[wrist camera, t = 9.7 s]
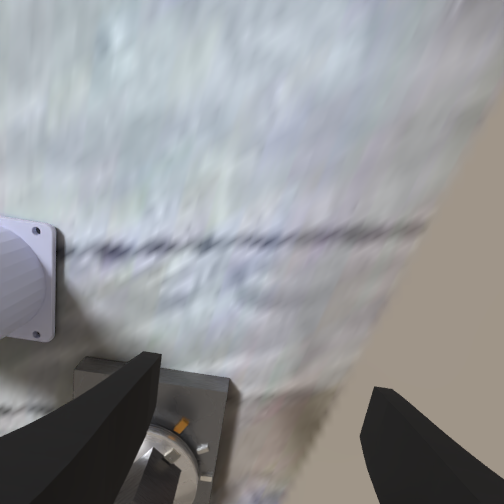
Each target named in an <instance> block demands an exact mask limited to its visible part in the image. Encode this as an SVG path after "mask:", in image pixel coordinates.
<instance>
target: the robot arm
mask: <svg viewBox="0 0 504 504" xmlns="http://www.w3.org/2000/svg"><path fill="white" fill-rule="evenodd" d="M37 227H38V228H39V229H40V231H41V232H40V234H39V233H37V231H36V228H37ZM55 286H56V229H55V228H54V226H52V225H51V224H48V223H42V222H35V221H29V220H23V219H17V218H10V217H4V216H0V340H1V339H2V338H4V337H5V336H6V337H12V338H19V339H26V340H32V341H39V342H49V341H51V340H52V339H53V338H54V336H55ZM36 331H37V332H39V333H40V335H38V334H37V332H36ZM161 355H162V354H157V353H151V352H144V351H143V352H142V353H140V354H139V355H138V356H136V357H135V358H133V359H132V360H131V361H129V362H128V363H127V364H125V365H124V366H122V367H121V368H120V369H118V370H117V371H116V372H114V373H113V374H111V375H110V376H109V377H107V378H106V379H104V380H103V381H101V382H100V383H99V384H97V385H96V386H94V387H93V388H91V389H90V390H88V391H86V392H85V393H83V394H82V395H80V396H78V397H77V398H75V399H74V400H72V401H71V402H69V403H67V404H65V405H64V406H62V407H60V408H58V409H57V410H55V411H53V412H51V413H49V414H47V415H46V416H44V417H42V418H40V419H38V420H36V421H34V422H32V423H30V424H28V425H26V426H24V427H22V428H19V429H17V430H15V431H13V432H11V433H8V434H6V435H4V436H2V437H0V504H114V502H115V500H116V498H117V496H118V494H119V492H120V489H121V487H122V485H123V483H124V481H125V479H126V477H127V475H128V473H129V471H130V469H131V467H132V464H133V462H134V460H135V458H136V456H137V454H138V452H139V450H140V448H141V446H142V443H143V441H144V439H145V437H146V434H147V431H148V429H149V426H150V423H151V420H152V417H153V414H154V411H155V408H156V403H157V394H158V384H159V375H160V365H161ZM360 440H361V445H362V450H363V454H364V458H365V462H366V466H367V469H368V472H369V475H370V478H371V481H372V483H373V486H374V489H375V492H376V494H377V497H378V500H379V502H380V504H504V479H503V478H501V477H500V476H498V475H497V474H496V473H495V472H493V471H492V470H490V469H489V468H488V467H487V466H485V465H484V464H483V463H481V462H480V461H479V460H478V459H476V458H475V457H474V456H472V455H471V454H470V453H469V452H467V451H466V450H465V449H464V448H462V447H461V446H460V445H459V444H457V443H456V442H455V441H454V440H452V439H451V438H450V437H449V436H448V435H446V434H445V433H444V432H443V431H442V430H440V429H439V428H438V427H437V426H436V425H434V423H432V422H431V421H430V420H429V419H428V418H427V417H425V416H424V415H423V414H422V413H421V412H419V411H418V410H417V409H416V408H415V407H414V406H413V405H411V404H410V403H409V402H408V401H407V400H405V399H404V398H403V397H402V396H401V395H399V394H398V393H397V392H395V391H394V390H393V389H388V388H381V387H374V389H373V392H372V396H371V399H370V403H369V407H368V409H367V413H366V416H365V420H364V423H363V427H362V430H361V434H360Z"/></svg>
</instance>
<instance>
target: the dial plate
mask: <svg viewBox="0 0 504 504" xmlns="http://www.w3.org/2000/svg"><path fill="white" fill-rule="evenodd" d="M125 364H127V363H125V362H118V361H111V360H105V359H98V358H91V357H85V358H84V359H83V360H82V361H81V363H80V364H79V365H78V366H77V367H76V368H75V369H74V385H73V400H74V399H75V398H77V397H78V396H80V395H82V394H83V393H85V392H86V391H88V390H90V389H91V388H93V387H94V386H96V385H97V384H99V383H100V382H101V381H103V380H104V379H106V378H107V377H109V376H110V375H111V374H113V373H114V372H116V371H117V370H118V369H120V368H121V367H122V366H124V365H125ZM228 386H229V378H224V377H217V376H211V375H204V374H198V373H191V372H184V371H178V370H171V369H164V368H160V375H159V384H158V394H157V403H156V408H155V411H154V414H153V417H152V420H151V423H150V424H153V425H156V426H159V427H162V428H165V429H167V430H169V431H171V432H172V433H174V434H176V435H177V436H178V437H180V438H181V439H182V440H183V441H184V442H185V443H186V444H187V445H188V446H189V447H190V449H191V450H192V452H193V453H194V455H195V457H196V460H197V463H198V467H199V480H198V486H197V491H196V495H195V499H194V501H193V503H192V504H209V502H210V496H211V490H212V484H213V478H214V472H215V466H216V460H217V454H218V447H219V441H220V435H221V429H222V423H223V417H224V411H225V405H226V399H227V393H228Z"/></svg>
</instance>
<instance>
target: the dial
mask: <svg viewBox="0 0 504 504" xmlns="http://www.w3.org/2000/svg"><path fill="white" fill-rule="evenodd" d="M198 480H199V467H198V463H197V460H196V457H195V455H194V453H193V452H192V450H191V449H190V447H189V446H188V445H187V444H186V443H185V442H184V441H183V440H182V439H181V438H180V437H178V436H177V435H176V434H174V433H172V432H171V431H169V430H167V429H165V428H162V427H159V426H156V425H153V424H150V426H149V429H148V431H147V434H146V437H145V439H144V441H143V443H142V446H141V448H140V450H139V452H138V454H137V456H136V458H135V460H134V462H133V464H132V467H131V469H130V471H129V473H128V475H127V477H126V479H125V481H124V483H123V485H122V487H121V489H120V492H119V494H118V496H117V498H116V500H115V502H114V504H192V503H193V501H194V499H195V495H196V491H197V486H198Z"/></svg>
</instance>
